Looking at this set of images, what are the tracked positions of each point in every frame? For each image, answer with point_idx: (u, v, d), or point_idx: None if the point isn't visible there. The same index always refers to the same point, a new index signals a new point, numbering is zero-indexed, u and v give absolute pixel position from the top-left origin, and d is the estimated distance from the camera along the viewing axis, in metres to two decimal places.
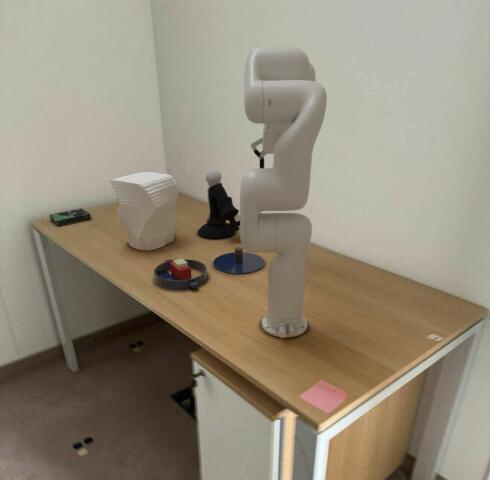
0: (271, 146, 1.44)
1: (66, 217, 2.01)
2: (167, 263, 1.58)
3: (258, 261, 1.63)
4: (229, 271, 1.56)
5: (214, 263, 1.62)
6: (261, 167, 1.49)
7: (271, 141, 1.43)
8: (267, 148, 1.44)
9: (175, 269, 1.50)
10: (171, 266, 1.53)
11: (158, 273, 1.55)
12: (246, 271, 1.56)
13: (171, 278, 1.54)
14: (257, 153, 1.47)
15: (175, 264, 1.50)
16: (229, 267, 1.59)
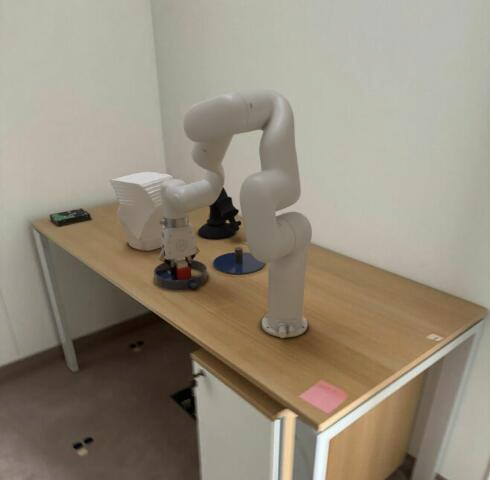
0: (175, 252, 1.45)
1: (66, 217, 2.01)
2: None
3: (258, 261, 1.63)
4: (229, 271, 1.56)
5: (214, 263, 1.62)
6: (173, 274, 1.51)
7: (174, 248, 1.45)
8: (171, 255, 1.45)
9: None
10: None
11: (158, 273, 1.55)
12: (246, 271, 1.56)
13: (171, 278, 1.54)
14: (168, 262, 1.48)
15: (175, 264, 1.50)
16: (229, 267, 1.59)
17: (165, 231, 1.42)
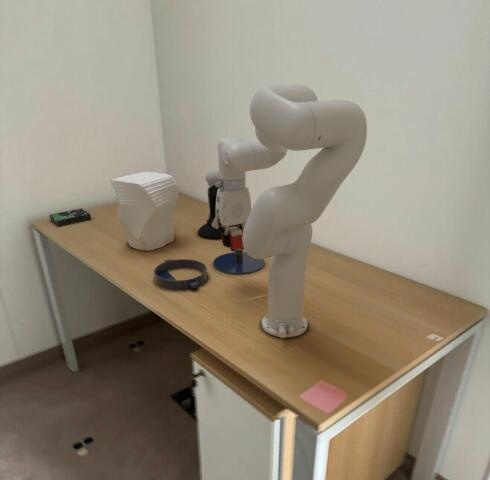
0: (230, 218, 1.34)
1: (66, 217, 2.01)
2: (167, 263, 1.58)
3: (258, 261, 1.63)
4: (229, 271, 1.56)
5: (214, 263, 1.62)
6: (226, 242, 1.40)
7: (230, 213, 1.33)
8: (227, 221, 1.34)
9: None
10: None
11: (158, 273, 1.55)
12: (246, 271, 1.56)
13: (171, 278, 1.54)
14: (222, 229, 1.37)
15: (229, 232, 1.39)
16: (229, 267, 1.59)
17: (221, 194, 1.31)
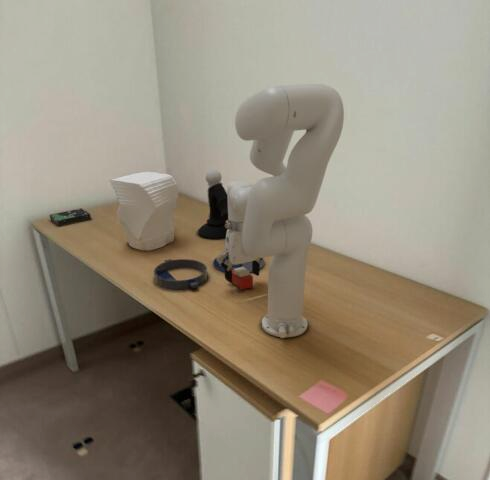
0: (239, 257, 1.39)
1: (66, 217, 2.01)
2: (167, 263, 1.58)
3: None
4: None
5: (214, 263, 1.62)
6: (228, 278, 1.43)
7: (239, 253, 1.39)
8: (236, 260, 1.39)
9: (236, 278, 1.46)
10: None
11: (158, 273, 1.55)
12: None
13: (171, 278, 1.54)
14: (224, 266, 1.40)
15: (236, 273, 1.46)
16: None
17: (230, 235, 1.36)
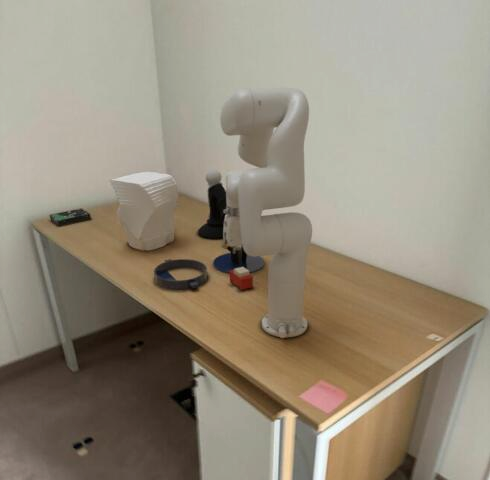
0: (236, 240, 1.55)
1: (66, 217, 2.01)
2: (167, 263, 1.58)
3: (258, 261, 1.63)
4: (229, 271, 1.56)
5: (214, 263, 1.62)
6: (234, 260, 1.61)
7: (236, 236, 1.54)
8: (233, 242, 1.55)
9: (236, 278, 1.46)
10: (231, 275, 1.48)
11: (158, 273, 1.55)
12: None
13: (171, 278, 1.54)
14: (230, 249, 1.58)
15: (236, 273, 1.46)
16: (229, 267, 1.59)
17: (228, 219, 1.51)
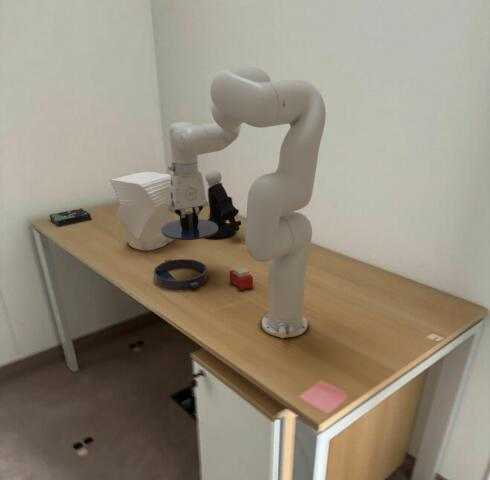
0: (184, 201, 1.39)
1: (66, 217, 2.01)
2: (167, 263, 1.58)
3: (211, 227, 1.47)
4: (176, 236, 1.41)
5: (162, 229, 1.46)
6: (184, 225, 1.45)
7: (183, 197, 1.38)
8: (180, 204, 1.39)
9: (236, 278, 1.46)
10: (231, 275, 1.48)
11: (158, 273, 1.55)
12: (195, 236, 1.40)
13: (171, 278, 1.54)
14: (179, 212, 1.42)
15: (236, 273, 1.46)
16: (177, 233, 1.43)
17: (174, 178, 1.36)
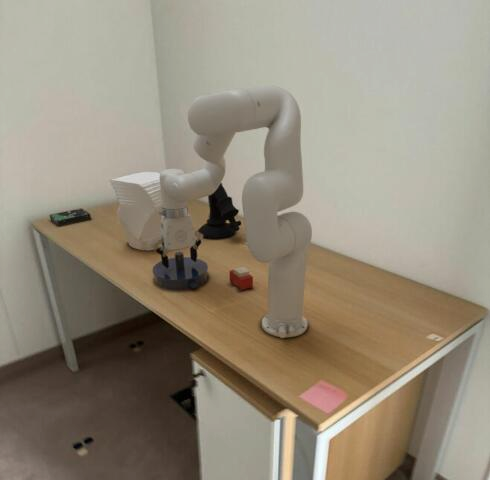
0: (174, 243, 1.44)
1: (66, 217, 2.01)
2: None
3: (201, 267, 1.52)
4: (167, 278, 1.46)
5: (153, 269, 1.51)
6: (165, 263, 1.48)
7: (174, 239, 1.43)
8: (171, 246, 1.44)
9: (236, 278, 1.46)
10: (231, 275, 1.48)
11: None
12: (185, 278, 1.45)
13: None
14: (160, 251, 1.45)
15: (236, 273, 1.46)
16: (168, 273, 1.48)
17: (164, 221, 1.40)
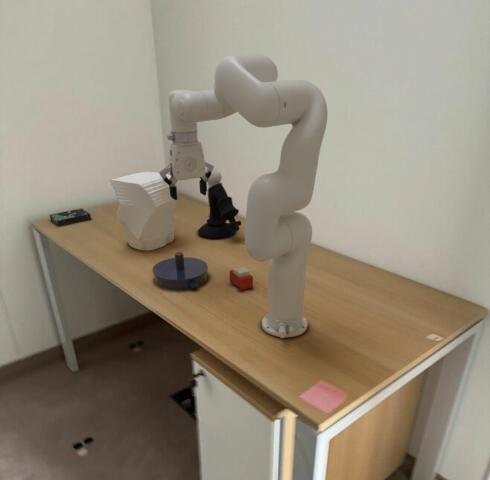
0: (183, 172, 1.36)
1: (66, 217, 2.01)
2: None
3: (201, 267, 1.52)
4: (167, 278, 1.46)
5: (153, 269, 1.51)
6: (173, 195, 1.40)
7: (183, 167, 1.36)
8: (180, 175, 1.36)
9: (236, 278, 1.46)
10: (231, 275, 1.48)
11: None
12: (185, 278, 1.45)
13: None
14: (168, 181, 1.37)
15: (236, 273, 1.46)
16: (168, 273, 1.48)
17: (173, 147, 1.33)
